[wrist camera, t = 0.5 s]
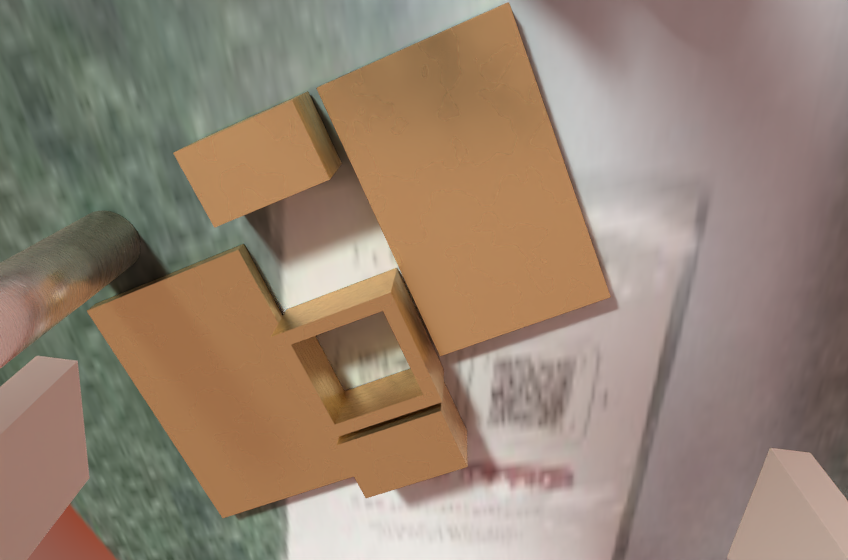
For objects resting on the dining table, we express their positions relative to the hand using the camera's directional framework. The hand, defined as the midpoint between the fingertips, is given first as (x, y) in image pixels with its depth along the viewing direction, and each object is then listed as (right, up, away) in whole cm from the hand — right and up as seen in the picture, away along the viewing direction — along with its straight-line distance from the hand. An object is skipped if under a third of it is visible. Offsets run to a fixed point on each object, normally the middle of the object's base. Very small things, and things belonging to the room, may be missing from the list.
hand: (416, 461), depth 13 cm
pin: (-18, +6, +25) cm, 31 cm away
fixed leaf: (-8, -2, +27) cm, 28 cm away
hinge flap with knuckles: (-1, +7, +23) cm, 24 cm away
